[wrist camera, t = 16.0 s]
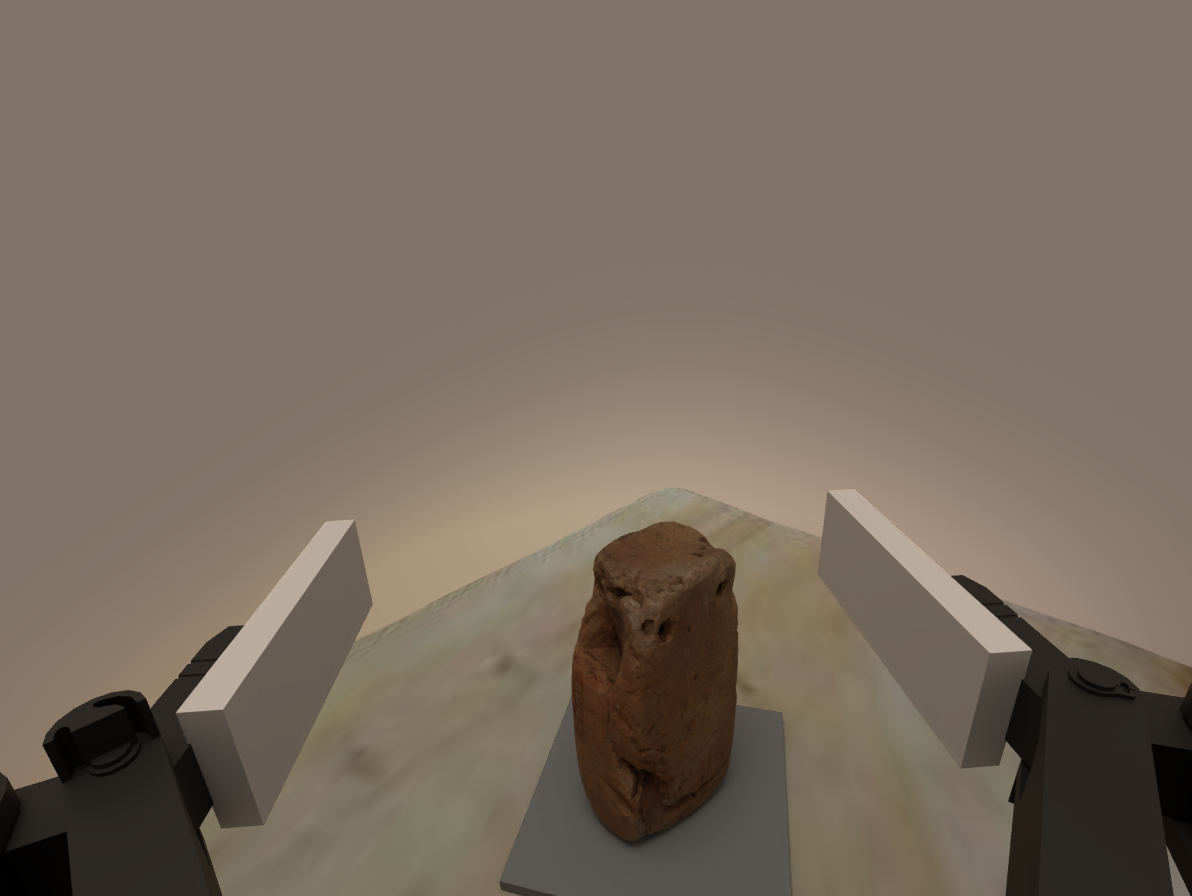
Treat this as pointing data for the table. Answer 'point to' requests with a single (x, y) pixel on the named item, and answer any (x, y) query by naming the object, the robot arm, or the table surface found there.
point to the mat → (670, 856)
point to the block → (656, 678)
